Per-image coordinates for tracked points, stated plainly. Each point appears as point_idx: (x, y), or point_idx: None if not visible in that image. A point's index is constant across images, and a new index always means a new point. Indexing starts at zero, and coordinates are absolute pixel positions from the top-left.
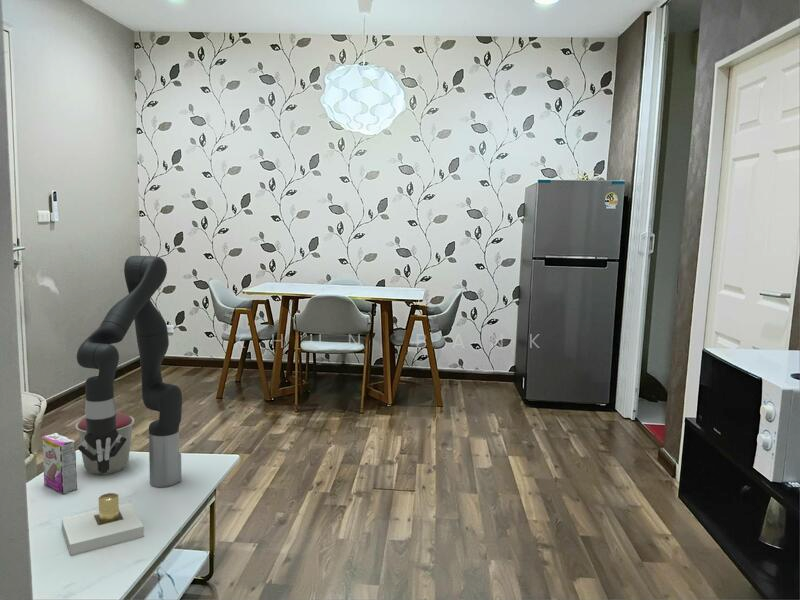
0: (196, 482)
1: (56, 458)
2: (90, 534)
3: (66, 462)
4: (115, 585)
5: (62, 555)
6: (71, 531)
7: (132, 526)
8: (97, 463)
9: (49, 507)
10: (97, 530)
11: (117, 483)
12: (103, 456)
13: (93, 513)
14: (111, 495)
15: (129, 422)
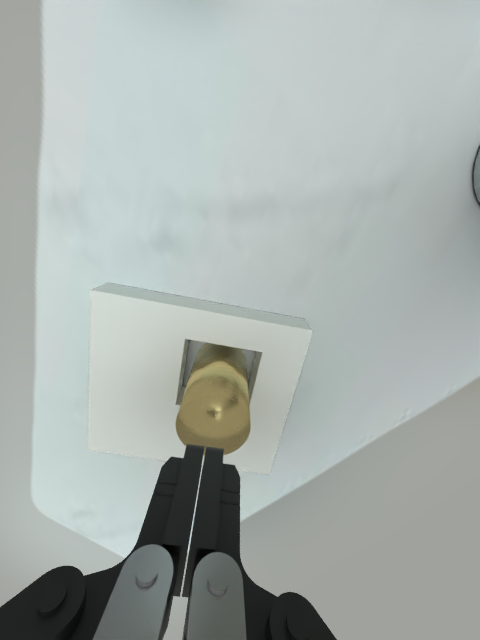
0: None
1: None
2: (144, 435)
3: None
4: None
5: (86, 416)
6: (103, 391)
7: (247, 460)
8: (145, 526)
9: (95, 68)
10: (165, 427)
11: (402, 15)
12: (188, 608)
13: (188, 326)
14: (228, 420)
15: None
